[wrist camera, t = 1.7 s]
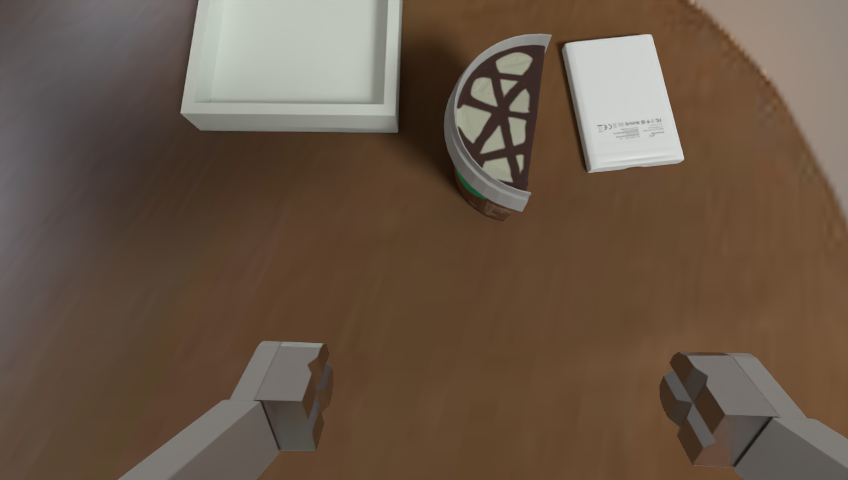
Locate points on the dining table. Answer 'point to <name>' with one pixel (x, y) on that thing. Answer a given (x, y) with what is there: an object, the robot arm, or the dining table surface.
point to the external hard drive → (621, 103)
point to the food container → (496, 124)
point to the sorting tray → (295, 66)
